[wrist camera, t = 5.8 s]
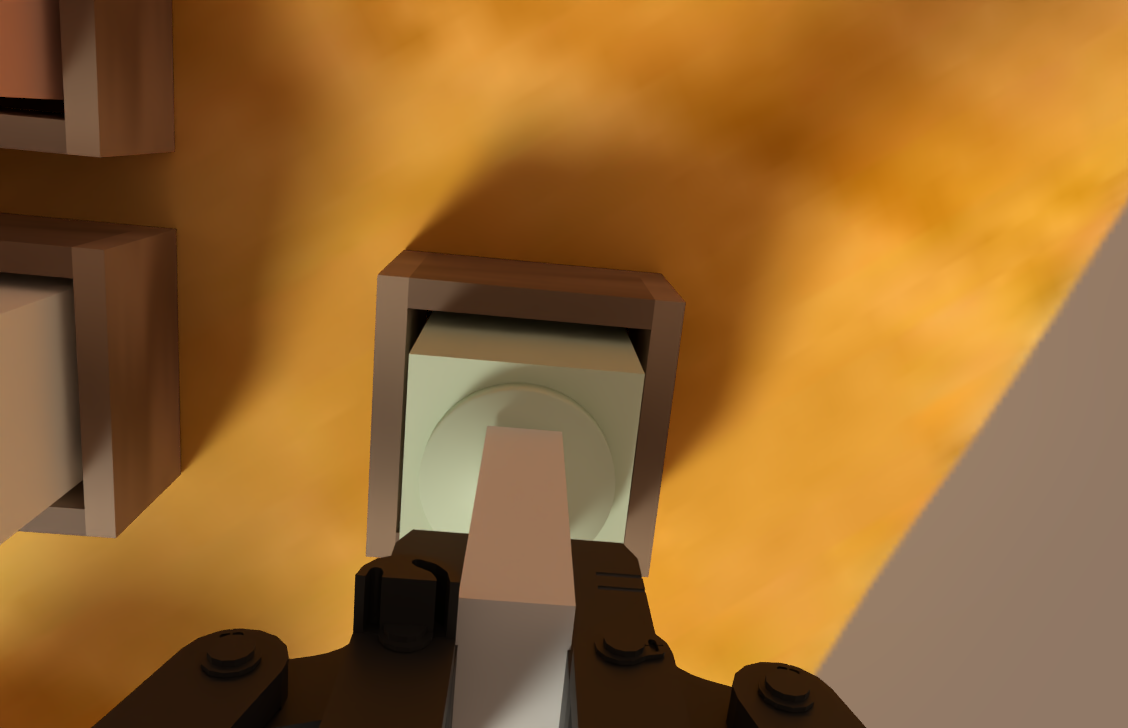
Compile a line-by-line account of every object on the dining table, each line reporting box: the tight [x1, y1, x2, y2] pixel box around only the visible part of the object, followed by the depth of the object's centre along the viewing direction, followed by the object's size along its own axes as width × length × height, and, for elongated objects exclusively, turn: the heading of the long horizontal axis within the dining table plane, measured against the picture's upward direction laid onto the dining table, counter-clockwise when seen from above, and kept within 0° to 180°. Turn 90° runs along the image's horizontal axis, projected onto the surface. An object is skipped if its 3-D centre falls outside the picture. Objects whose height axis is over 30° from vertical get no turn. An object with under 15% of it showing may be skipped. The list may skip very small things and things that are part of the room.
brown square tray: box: [366, 250, 685, 577], centre depth 23 cm, size 7×7×4 cm
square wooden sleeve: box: [0, 213, 181, 538], centre depth 22 cm, size 7×7×4 cm
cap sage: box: [399, 310, 645, 543], centre depth 21 cm, size 5×5×7 cm
